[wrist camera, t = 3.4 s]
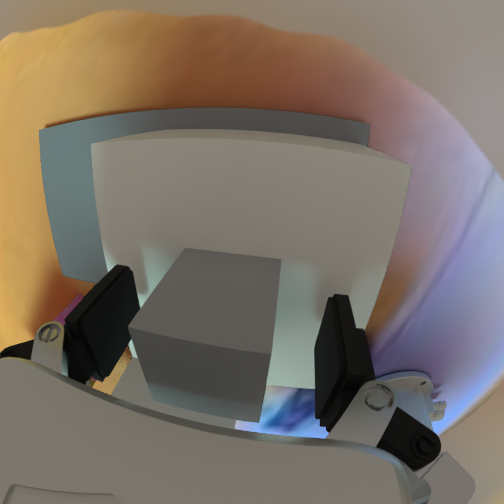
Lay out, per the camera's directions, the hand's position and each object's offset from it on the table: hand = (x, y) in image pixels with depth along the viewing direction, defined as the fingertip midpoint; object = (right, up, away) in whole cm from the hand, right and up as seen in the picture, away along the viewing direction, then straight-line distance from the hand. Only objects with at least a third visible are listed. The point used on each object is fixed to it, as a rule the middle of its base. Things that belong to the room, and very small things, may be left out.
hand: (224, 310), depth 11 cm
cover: (+1, +4, +9) cm, 10 cm away
